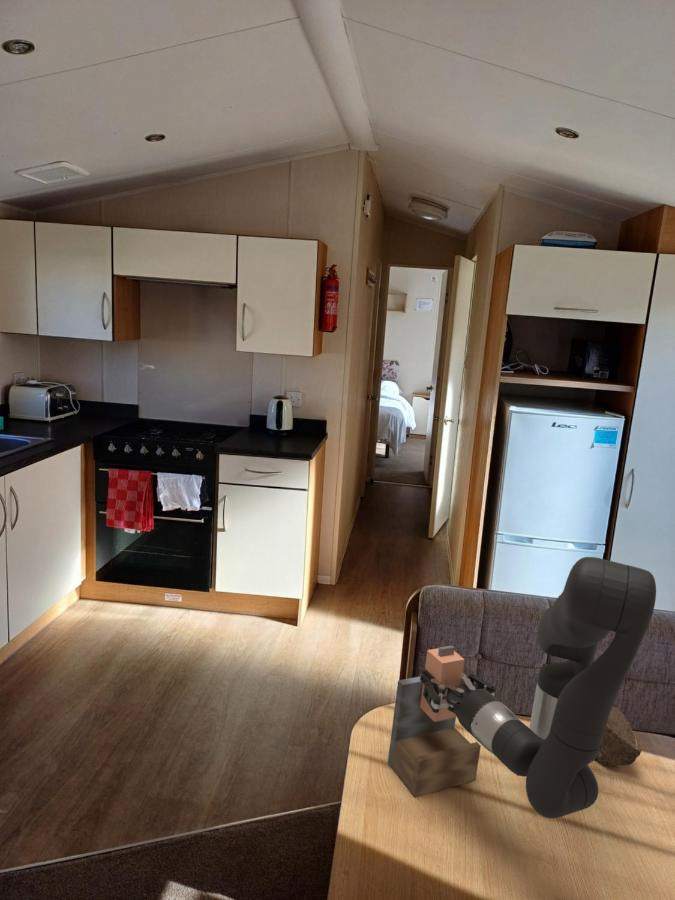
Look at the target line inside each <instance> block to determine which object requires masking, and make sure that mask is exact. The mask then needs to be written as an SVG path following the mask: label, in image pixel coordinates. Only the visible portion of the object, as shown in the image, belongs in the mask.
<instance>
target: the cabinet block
mask: <svg viewBox="0 0 675 900" xmlns="http://www.w3.org/2000/svg"><path fill="white" fill-rule="evenodd" d="M455 648H456V647H455V646H454V645H446V646H441V647H440V646H439V647H438V648H433V649H427V650H426V651H427V652H426V658H425V666H424V669H426V670H427V671H428V672H429V673H430V674H431V675H432V676H433V677H435V679H436V680H438V681H440V682H442V683H444V682H447V683H449V684H451V685H453V686H459V685H461V678H462V674H464V665H465V661H466V660H465V658H464V657H462V655H460V654H459V653H458V652H456V650H455ZM436 690H438V691H440V688H439V687H437V689H436ZM447 691H448V690H447ZM447 691H446V696H447ZM423 692H424V683H423V687H422V695H421V702H420V708H421V709H422V710H423V711H424V712H425V713H426V714H427V715H428V716H429V717H430V718H431V719H432V720H433V721H434V722H437V721H441V720H445V719H450V718H454V717H456V718H457V716H456V714H454V713H453V712H451V711H449V710H448V709H447V708H442V709H439V712H438V713H434V712H433V711H432V710H431V708H430V706H429V705H428V703H427V701H426V699H425V698H424V696H423Z"/></svg>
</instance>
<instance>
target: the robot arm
mask: <svg viewBox="0 0 675 900" xmlns="http://www.w3.org/2000/svg"><path fill="white" fill-rule="evenodd" d="M656 598H657V585H656V579H655V576H654V575H653V573H652V572H651V571H649V570H647V569H644V568H641V567H637V566H632V565H629V564H624V563H621V562H617V561H613V560H607V559H604V558H600V557H597V556H596V557H594V556H584V557H581V558H579V559H578V560H577V561H576V562H575V563H574V564H573V565H572V568H571V569H570V571H569V574H568V576H567V578H566V580H565V585H564V588H563V591H562V592H561V593H560V594H559V596H558V597H557V598H556V600H555V601H554V603H553V604H552V606H551V607H548V608H547V609H545V611H544V612H543V614H542V616H541V618H540V620H539V624H538V626H537V627H538V629H537V642H538V645H539V647H540V649H541V650H542V652H543V653H545V654H546V655H548V656H552V657H554V658H560V659H563V660H565V661H562V662H557V663H550V664H549V663H548V664H546V665H544V666H542V667H541V668H540V669H539V672H538V674H537V675H538V676H537V682H536V687H535V691H534V692H535V693H534V698H533V699H534V700H533V703H532V704H533V705H532V711H531V716H530V722H529V726H527V725H526V724H525V723H524V722H523V721H521V720H520V719H519V717H518V716H517V715H516V714H515V713H514V712H513V711H512V710H511V709H510V708H508V707H507V706H506V705H505V704H504V703H503V702H502V701H500V700H499V699H498V698H497V697H496V696H495V695H496V690H497V689H496V688H497V686H495V685H494V684H491V683H489V682H488V681H486V680H485V679H483V678H481V677H479V676H478V675H476V674H474V673H469V674H468V675H467V674H465V673H463V674H462V678H461V685H459V686H453V685H451V684H449V683H447V682H444V683H442V682H440V681H438V680H436V679H435V677H433V676H432V675H431V674H430V673H429V672H428V671H427V670H426V669H425V668H422V669H421V670H420V671H421V672H420V676H419V677H420V680H421V682H422V683H424V692H423V696H424V698H425V699H426V701H427V703H428V705H429V706H430V708H431V710H432V711H433V712H434V713H438V712H439V709H442V708H447V709H448V710H449V711H451V712H453V713H454V714H456V719H457V720H458V722H459V724H460V726H462V727H463V728H464V729H465V730H466V731H467V732H468V733H469V734H470V735H471V736H472V737H473V739H475V741H476V742H478V743H479V744H480V745H481V747H483V748H484V749H486V750H487V751H488V752H489V753H491V754H492V755H494V756H495V757H496V758H497V759H498V760H499V761H500V762H501V763H502V764H503V765H504V767H506V768H507V769H508V770H509V772H512V773H513V774H514V775H516V776H519V777H525V791H526V796H527V799H528V802H529V804H530V806H531V807H532V809H534V811H535V812H536V813H537V814H538V815H540V816H542V817H544V818H547V819H558V818H562V817H565V816H568V815H571V814H574V813H577V812H580V811H583V810H586V809H588V808H590V807H591V806H593V805H594V804H595V803H596V801H597V799H598V798H599V797H598V796H599V785H598V781H597V779H596V776H595V774H594V772H593V771H592V770H591V768H590V766H588V765H590V764H591V763H592V762H594V761H595V759H596V757H597V755H598V752H599V750H600V746H601V743H602V739H603V736H604V732H605V729H606V725H607V721H608V718H609V715H610V712H611V709H612V706H614V703H615V701H616V698H617V696H618V694H619V692H620V690H621V688H622V686H623V684H624V681H625V679H626V678H627V676H628V673H629V671H630V669H631V667H632V665H633V663H634V661H635V658H636V656H637V653H638V651H639V649H640V647H641V645H642V642H643V640H644V637H645V635H646V633H647V630H648V628H649V626H650V623H651V620H652V617H653V614H654V610H655V604H656V601H657V600H656ZM610 632H613V633H615V635H614V636H613V639H612V640H611V643H610V644H609V645H608V647H607V648H606V649H605V651H604V652H603V653H602V654H601V655H600V656H599V657H598V658H597V659H595V655H596V651H597V648H598V643H600V642H601V641H602V640H603V639H605V638H606V637H607V635H608V634H609V633H610ZM594 659H595V660H594ZM475 683H476V684H477V685H476V684H475ZM437 687H439V688H440V691H438V690H436V689H437ZM447 690H448V691H447ZM446 691H447V696H446Z"/></svg>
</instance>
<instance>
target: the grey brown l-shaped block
mask: <svg viewBox="0 0 675 900" xmlns="http://www.w3.org/2000/svg"><path fill="white" fill-rule="evenodd" d="M422 687H423V683H422V682H421V680H420V676H416V677H411V678H405V679H399V680H397V688H396V693H395V694H396V695H395V702H394V710H393V718H392V719H393V720H392V726H391V734H390V744H389V748H388V749H389V750H388V758H387V764H388V766H389V767H390V768H391V769H392V770H393V772H394V773H395V774H396V776H397V777H398V778H399V780H400V781H401V782H402V784H403V785H404V786H405V787H406V789H407V790H408V791H409V793H410V794H411V796H413V798H416V797H420V796H424V795H428V794H431V793H435V792H438V791H442V790H445V789H449V788H453V787H456V786H459V785H463V784H465V783H471V782H473V781H476V779H477V772H478V767H479V766H478V765H479V759H480V753H481V747H482V745H481V744H480V743H479V742H478V741H476V742H472V743H471V742H470V741H469V740H468V739H467V738H466V737H465V736H464V735H463V734H462V733H461V732H460V731H459V730H458V729H457V728H456V726H455V725H456V719H457V716H456V717H454V718H450V719H445V720H441V721H437V722H434V721H433V720H432V719H431V718H430V717H429V716H428V715H427V714H426V713H425V712H424V711H423V710H422V709H421V708H420V702H421V695H422Z"/></svg>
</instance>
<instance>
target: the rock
mask: <svg viewBox="0 0 675 900" xmlns="http://www.w3.org/2000/svg"><path fill="white" fill-rule="evenodd" d="M642 751H643V750H642V748H641V745H640V743H639V739H638V738H637V737H636V736H635V733H634V731H633V729H632V726H631V724H630V722H629V720H628V719H627V718H626V716H625V715H624V713H623V712H622V711H621V710H620V709H619V708H618V707H616V706H614V705H613V706H612V709H611V712H610V715H609V718H608V721H607V725H606V729H605V732H604V736H603V739H602V743H601V746H600V750H599V752H598V755H597V757H596V758H595V759H596V760H597V761H598V762H599V763H602V764H604V765H608V766H620V767H622V766H626V767H628V766H629V765H631V764H633V763H635V761H636V760H637V758H638V757H639V756H640V755H641V753H642Z"/></svg>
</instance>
